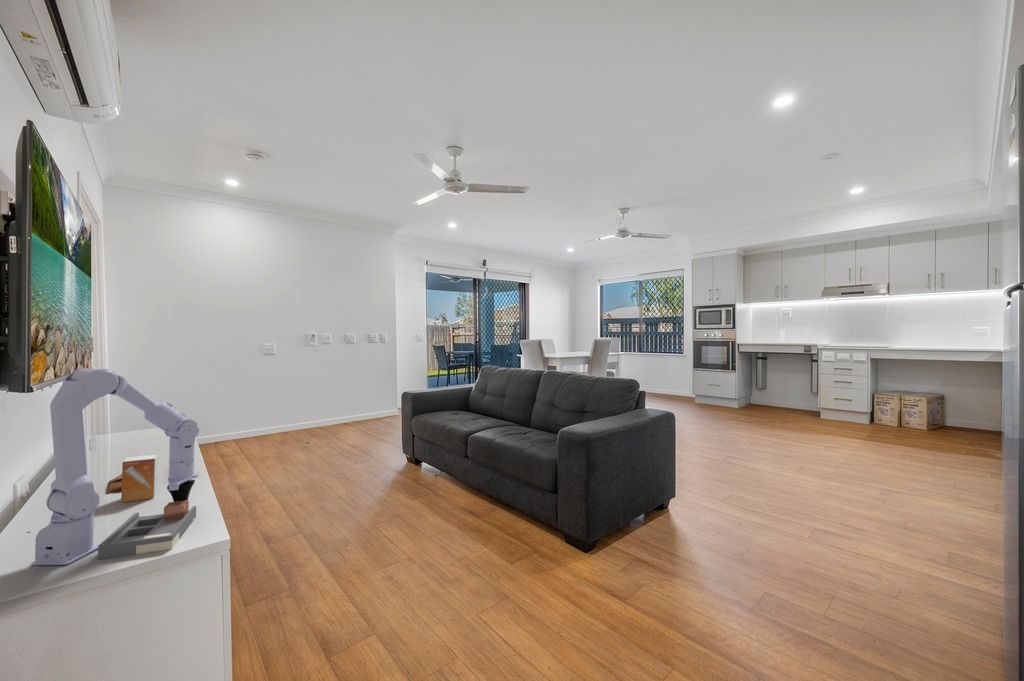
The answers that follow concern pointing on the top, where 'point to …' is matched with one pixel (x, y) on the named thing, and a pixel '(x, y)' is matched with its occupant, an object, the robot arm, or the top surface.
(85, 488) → the robot arm
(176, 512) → the block
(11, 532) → the top surface
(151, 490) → the small box
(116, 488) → the sunglasses case
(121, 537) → the grey divided tray
